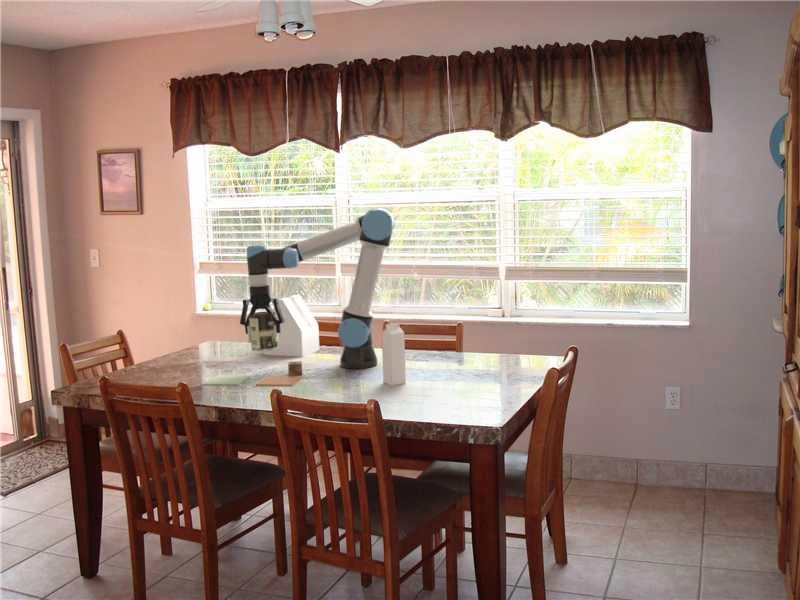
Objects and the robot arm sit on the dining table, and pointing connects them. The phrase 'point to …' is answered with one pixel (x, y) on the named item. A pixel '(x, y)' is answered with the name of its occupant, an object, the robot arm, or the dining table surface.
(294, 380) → the pad terracotta
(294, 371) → the walnut block
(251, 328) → the coffee can
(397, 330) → the milk
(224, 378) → the pad green
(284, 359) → the dining table surface
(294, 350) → the white house block
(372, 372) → the dining table surface
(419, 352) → the dining table surface
